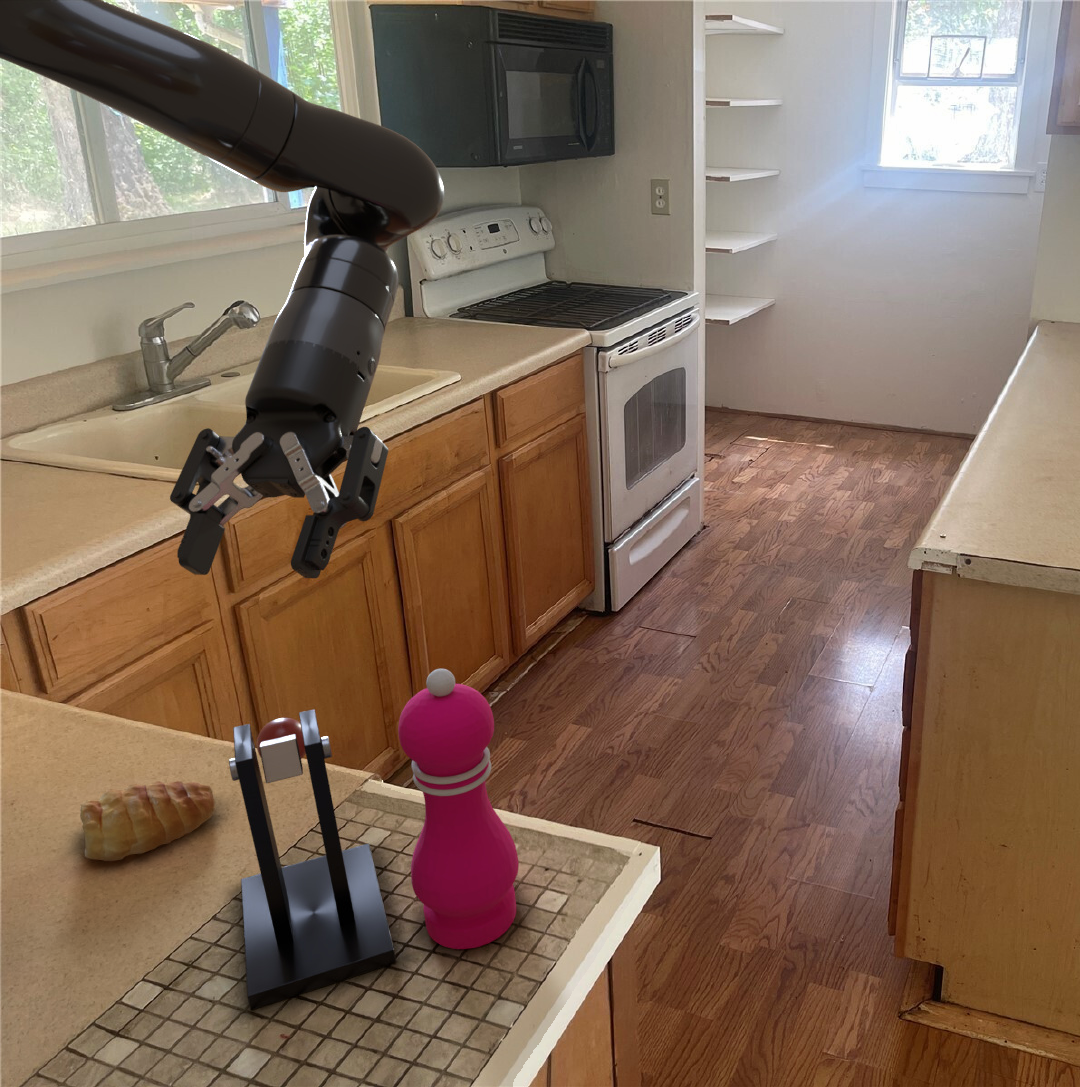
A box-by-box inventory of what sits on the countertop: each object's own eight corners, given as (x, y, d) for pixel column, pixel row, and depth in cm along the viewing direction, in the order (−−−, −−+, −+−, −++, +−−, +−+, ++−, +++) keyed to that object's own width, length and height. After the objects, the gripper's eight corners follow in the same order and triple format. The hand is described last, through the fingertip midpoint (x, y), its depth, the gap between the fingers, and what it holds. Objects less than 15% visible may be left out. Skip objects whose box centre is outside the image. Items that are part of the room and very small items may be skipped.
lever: (262, 769, 76) (253, 722, 76) (313, 757, 78) (304, 710, 78) (255, 796, 64) (245, 739, 64) (316, 780, 65) (305, 726, 65)
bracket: (243, 891, 75) (198, 706, 68) (371, 855, 78) (339, 676, 72) (250, 1010, 65) (198, 806, 58) (396, 963, 68) (362, 765, 62)
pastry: (209, 788, 86) (200, 750, 85) (224, 831, 81) (215, 792, 80) (82, 829, 81) (69, 789, 80) (89, 877, 76) (76, 836, 75)
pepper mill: (405, 956, 69) (363, 700, 61) (434, 882, 75) (399, 643, 68) (512, 956, 69) (483, 700, 61) (532, 882, 75) (507, 643, 68)
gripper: (201, 339, 72) (115, 545, 65) (380, 332, 69) (309, 549, 62) (265, 399, 78) (193, 592, 72) (431, 395, 75) (372, 598, 68)
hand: (247, 572), depth 67 cm, fingers open, 8 cm apart
